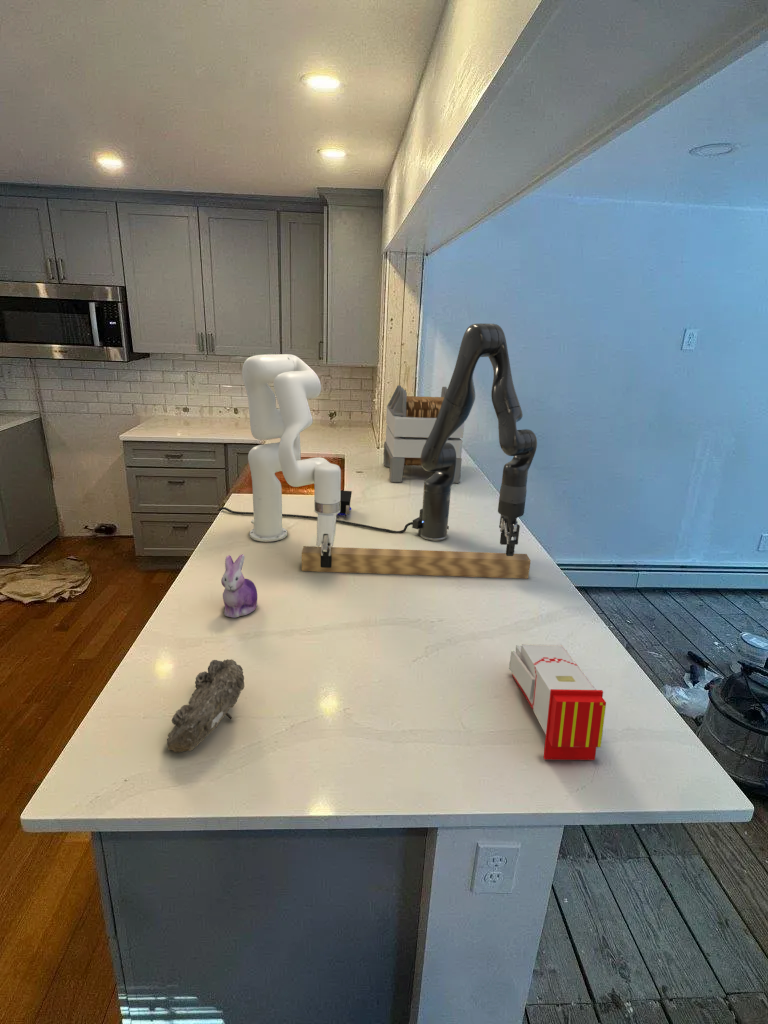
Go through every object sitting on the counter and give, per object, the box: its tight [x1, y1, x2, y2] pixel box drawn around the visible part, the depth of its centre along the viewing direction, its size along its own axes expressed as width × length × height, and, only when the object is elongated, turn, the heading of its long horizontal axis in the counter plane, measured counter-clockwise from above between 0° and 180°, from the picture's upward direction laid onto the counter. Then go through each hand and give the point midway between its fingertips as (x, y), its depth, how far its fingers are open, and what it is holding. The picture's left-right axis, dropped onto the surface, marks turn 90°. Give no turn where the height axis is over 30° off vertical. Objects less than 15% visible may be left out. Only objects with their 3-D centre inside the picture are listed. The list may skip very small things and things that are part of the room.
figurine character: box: [336, 489, 353, 519], centre depth 215 cm, size 7×8×15 cm
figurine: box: [220, 553, 258, 618], centre depth 143 cm, size 9×10×15 cm
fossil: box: [166, 658, 245, 754], centre depth 106 cm, size 22×10×15 cm
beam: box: [301, 545, 531, 580], centre depth 171 cm, size 68×5×6 cm, turn 91°
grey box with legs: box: [383, 384, 465, 484], centre depth 268 cm, size 34×33×41 cm
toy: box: [508, 643, 607, 761], centre depth 112 cm, size 12×13×30 cm
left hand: (326, 562), depth 171 cm, fingers closed on beam, 4 cm apart
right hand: (506, 549), depth 170 cm, fingers open, 8 cm apart
